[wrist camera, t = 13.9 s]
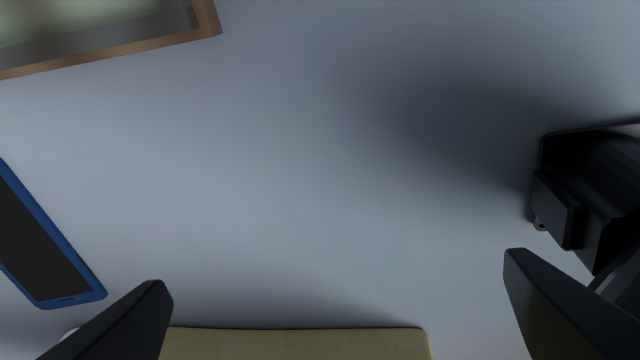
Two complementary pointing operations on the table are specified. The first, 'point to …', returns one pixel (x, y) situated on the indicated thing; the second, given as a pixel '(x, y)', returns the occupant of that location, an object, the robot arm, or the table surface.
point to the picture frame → (94, 30)
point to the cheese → (296, 344)
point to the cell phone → (40, 252)
